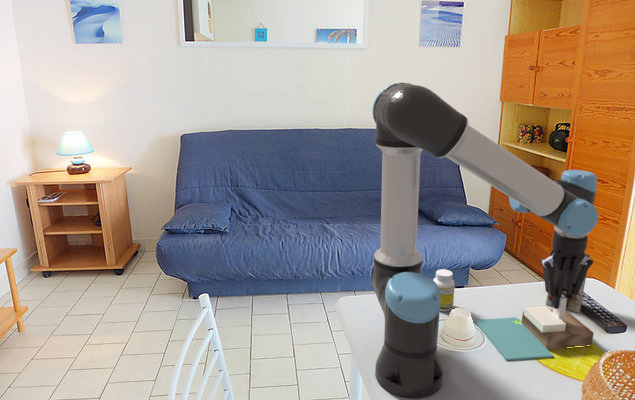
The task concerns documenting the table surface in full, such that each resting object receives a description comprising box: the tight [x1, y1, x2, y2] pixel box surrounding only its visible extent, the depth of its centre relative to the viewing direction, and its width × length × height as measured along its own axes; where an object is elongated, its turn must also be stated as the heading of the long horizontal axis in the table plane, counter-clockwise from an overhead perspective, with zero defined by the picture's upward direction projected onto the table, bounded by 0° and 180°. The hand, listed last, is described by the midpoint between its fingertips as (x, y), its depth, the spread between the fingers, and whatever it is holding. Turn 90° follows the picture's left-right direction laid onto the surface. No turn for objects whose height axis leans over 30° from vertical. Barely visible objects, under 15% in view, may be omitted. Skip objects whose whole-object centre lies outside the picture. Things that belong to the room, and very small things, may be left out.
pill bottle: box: [432, 268, 456, 312], centre depth 137 cm, size 6×6×11 cm
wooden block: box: [521, 309, 595, 351], centre depth 124 cm, size 12×12×4 cm
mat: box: [474, 317, 554, 362], centre depth 123 cm, size 12×18×1 cm, turn 6°
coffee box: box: [545, 253, 591, 314], centre depth 137 cm, size 9×6×16 cm
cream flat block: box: [523, 305, 566, 333], centre depth 123 cm, size 6×9×2 cm, turn 6°
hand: (557, 318), depth 123 cm, fingers closed
